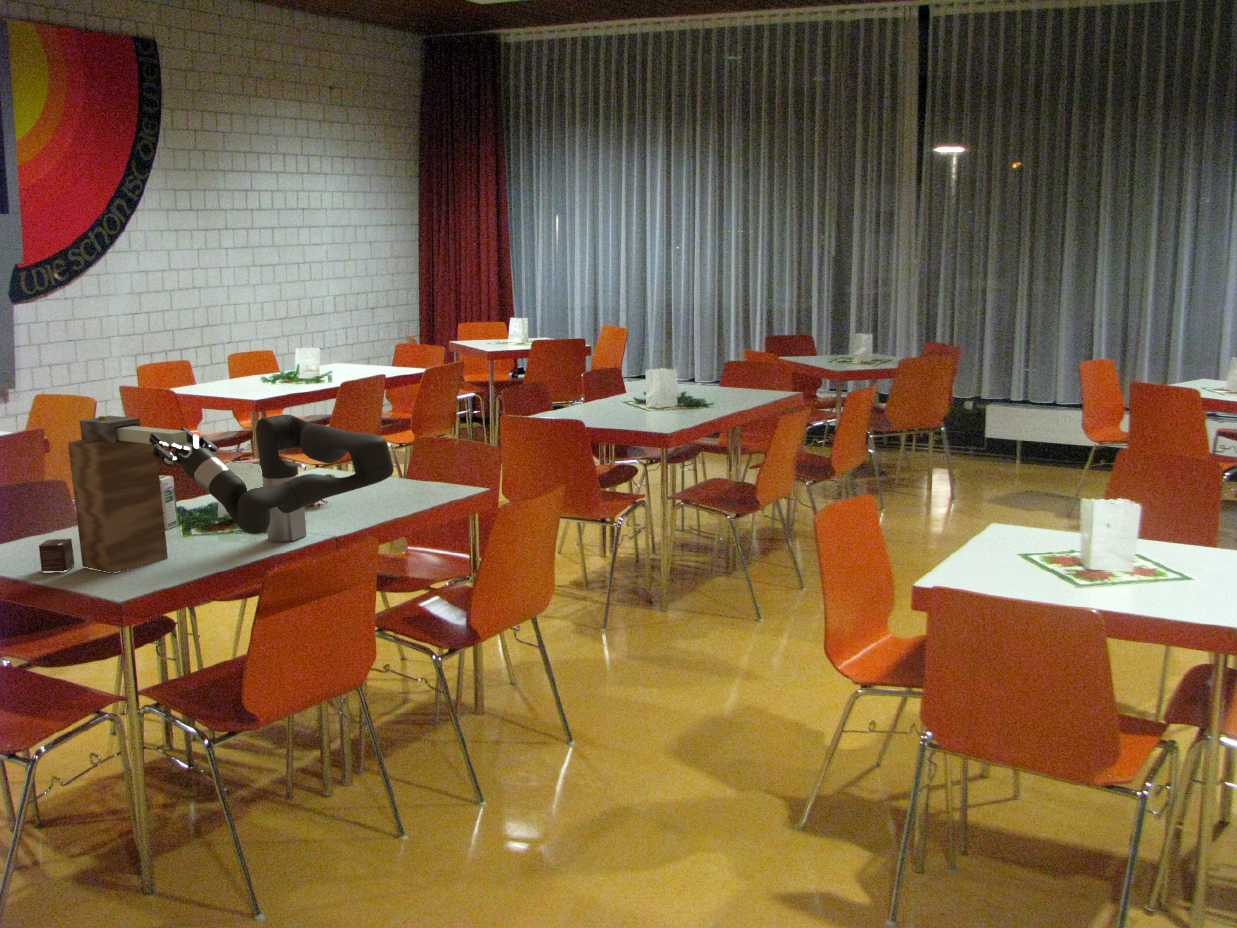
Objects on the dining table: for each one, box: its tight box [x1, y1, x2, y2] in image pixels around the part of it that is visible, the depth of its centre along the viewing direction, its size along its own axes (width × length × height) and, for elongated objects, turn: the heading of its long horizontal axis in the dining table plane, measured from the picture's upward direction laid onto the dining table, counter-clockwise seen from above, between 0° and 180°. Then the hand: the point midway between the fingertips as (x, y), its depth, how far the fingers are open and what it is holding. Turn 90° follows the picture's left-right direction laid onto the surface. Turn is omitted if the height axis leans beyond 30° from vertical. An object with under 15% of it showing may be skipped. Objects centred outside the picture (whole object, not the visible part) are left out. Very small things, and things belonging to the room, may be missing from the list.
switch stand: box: [67, 415, 169, 573], centre depth 301 cm, size 12×16×37 cm
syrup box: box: [159, 475, 179, 531], centre depth 340 cm, size 6×6×14 cm
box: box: [38, 538, 75, 572], centre depth 300 cm, size 6×6×7 cm
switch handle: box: [115, 425, 188, 445], centre depth 291 cm, size 24×4×3 cm, turn 58°
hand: (166, 433), depth 287 cm, fingers open, 8 cm apart
